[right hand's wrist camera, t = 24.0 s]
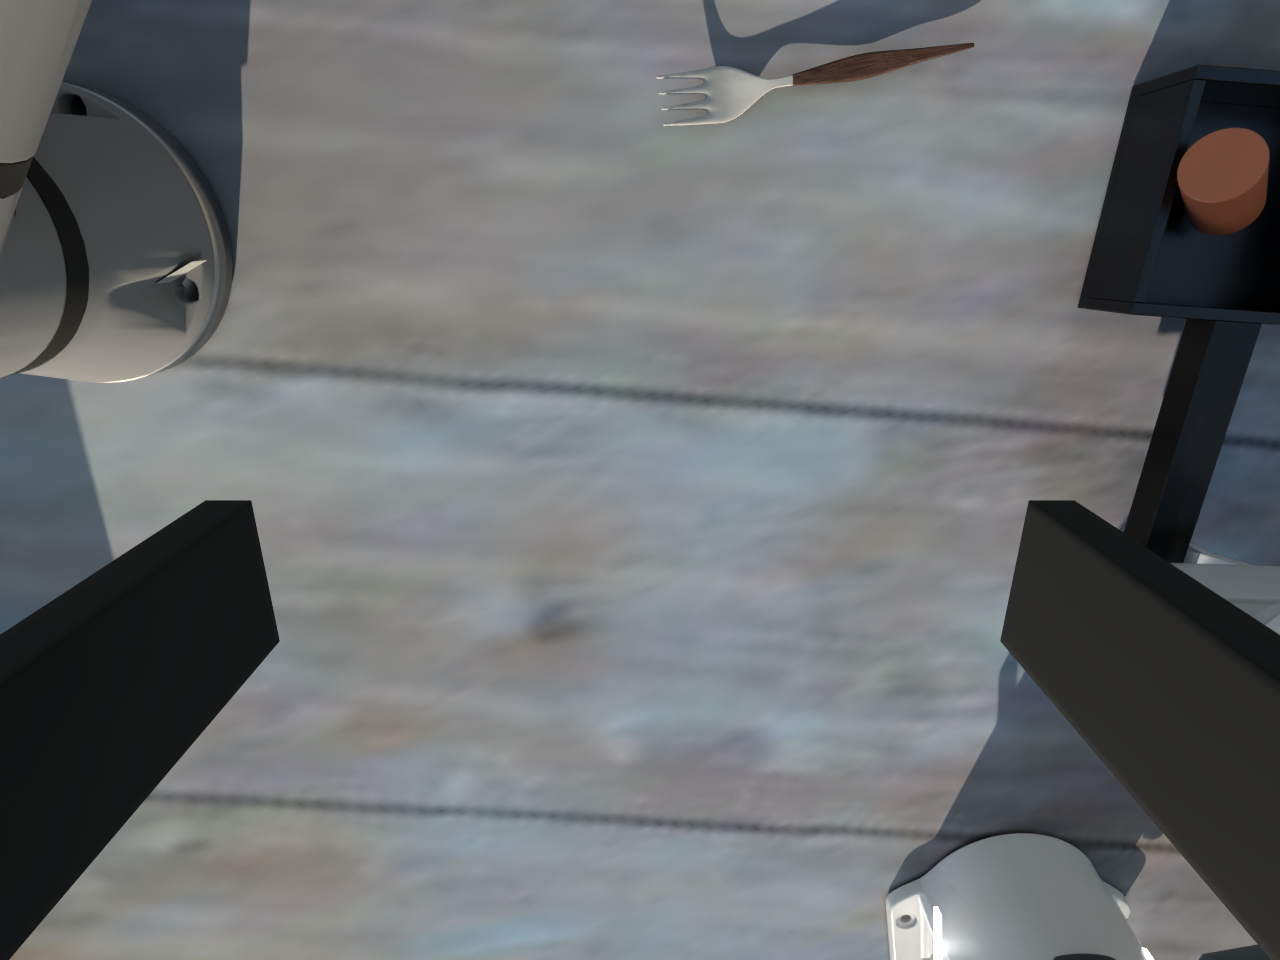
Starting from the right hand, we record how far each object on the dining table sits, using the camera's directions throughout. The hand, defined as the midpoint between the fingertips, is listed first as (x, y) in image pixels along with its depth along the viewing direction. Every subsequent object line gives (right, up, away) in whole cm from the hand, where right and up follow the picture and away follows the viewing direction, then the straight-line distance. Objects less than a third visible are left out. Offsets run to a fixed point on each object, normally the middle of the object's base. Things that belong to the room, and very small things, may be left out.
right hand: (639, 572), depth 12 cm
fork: (+9, +22, +25) cm, 34 cm away
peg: (+30, +16, +25) cm, 42 cm away
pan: (+30, +8, +29) cm, 43 cm away
